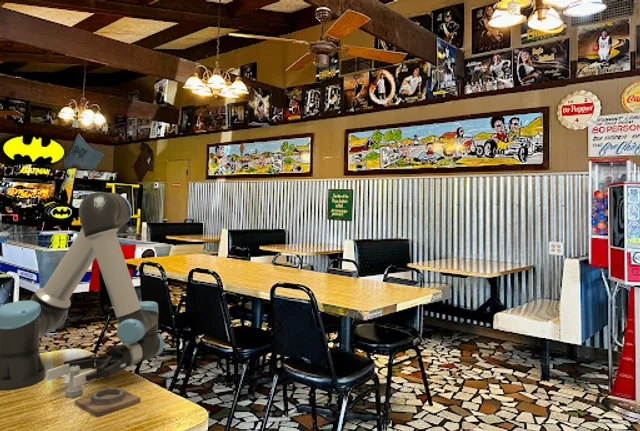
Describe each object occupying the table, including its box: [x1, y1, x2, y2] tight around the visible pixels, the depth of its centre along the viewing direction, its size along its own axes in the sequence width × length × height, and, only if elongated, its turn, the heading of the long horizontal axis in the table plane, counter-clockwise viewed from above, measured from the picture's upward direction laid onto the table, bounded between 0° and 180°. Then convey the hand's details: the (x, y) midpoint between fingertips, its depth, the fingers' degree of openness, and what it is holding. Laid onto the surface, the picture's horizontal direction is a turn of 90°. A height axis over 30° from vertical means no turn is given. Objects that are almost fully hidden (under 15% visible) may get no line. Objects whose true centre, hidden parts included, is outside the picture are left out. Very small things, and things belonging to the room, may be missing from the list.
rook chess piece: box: [64, 365, 84, 398], centre depth 130 cm, size 4×4×8 cm
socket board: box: [74, 387, 141, 418], centre depth 125 cm, size 12×12×3 cm
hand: (60, 378), depth 126 cm, fingers open, 10 cm apart
